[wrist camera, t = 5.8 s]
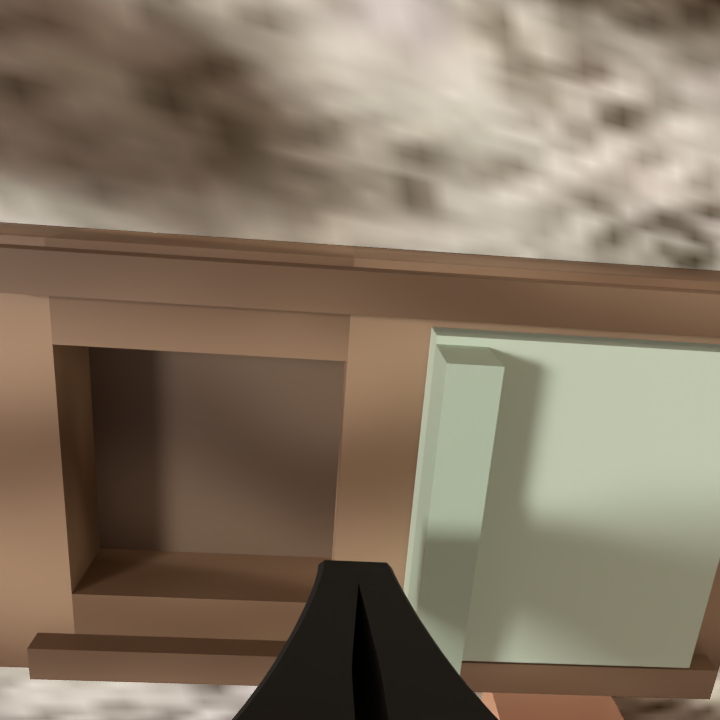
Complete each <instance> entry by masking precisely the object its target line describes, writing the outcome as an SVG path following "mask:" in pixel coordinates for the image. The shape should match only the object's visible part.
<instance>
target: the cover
mask: <svg viewBox="0 0 720 720" xmlns="http://www.w3.org/2000/svg"><path fill="white" fill-rule="evenodd" d="M719 559H720V344H705V343H689V342H673V341H656V340H640V339H623V338H607V337H591V336H574V335H558V334H542V333H525V332H509V331H492V330H476V329H460V328H443V327H432V328H431V337H430V346H429V356H428V365H427V374H426V384H425V393H424V402H423V412H422V421H421V430H420V440H419V449H418V458H417V467H416V477H415V486H414V495H413V505H412V514H411V523H410V533H409V542H408V551H407V561H406V570H405V579H404V589H403V591H404V593H405V595H406V597H407V598H408V600H409V602H410V604H411V605H412V607H413V609H414V610H415V612H416V614H417V615H418V617H419V618H420V620H421V621H422V623H423V625H424V626H425V628H426V629H427V631H428V632H429V634H430V635H431V637H432V638H433V640H434V641H435V643H436V644H437V645H438V647H439V648H440V650H441V651H442V653H443V654H444V655H445V657H446V658H447V659H448V661H449V662H450V663H451V665H452V666H453V667H454V668H455V670H456V671H457V672H458V674H459V675H460V670H461V664H462V661H489V662H520V663H551V664H581V665H612V666H643V667H674V668H689V667H690V664H691V660H692V656H693V653H694V649H695V646H696V642H697V638H698V635H699V631H700V628H701V624H702V620H703V617H704V613H705V610H706V606H707V603H708V599H709V595H710V592H711V588H712V585H713V581H714V577H715V574H716V570H717V567H718V563H719Z"/></svg>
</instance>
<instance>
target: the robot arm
mask: <svg viewBox="0 0 720 720" xmlns="http://www.w3.org/2000/svg"><path fill="white" fill-rule="evenodd" d="M232 720H498V718H497V717H496V716H495V715H494V714H493V713H492V712H491V711H490V710H489V709H488V708H487V707H486V706H485V704H484V703H483V702H482V701H481V700H480V699H479V698H478V697H477V695H476V694H475V693H474V692H473V691H472V690H471V688H470V687H469V686H468V685H467V684H466V682H465V681H464V680H463V679H462V677H461V676H460V675H459V674H458V672H457V671H456V670H455V668H454V667H453V666H452V665H451V663H450V662H449V661H448V659H447V658H446V657H445V655H444V654H443V653H442V651H441V650H440V648H439V647H438V645H437V644H436V643H435V641H434V640H433V638H432V637H431V635H430V634H429V632H428V631H427V629H426V628H425V626H424V625H423V623H422V621H421V620H420V618H419V617H418V615H417V614H416V612H415V610H414V609H413V607H412V605H411V604H410V602H409V600H408V598H407V597H406V595H405V593H404V591H403V589H402V588H401V586H400V584H399V582H398V580H397V578H396V576H395V574H394V572H393V569H392V568H391V567H390V565H389V564H388V563H386V562H362V561H338V560H324V561H323V562H321V563H320V564H319V565H318V571H317V575H316V579H315V582H314V585H313V588H312V591H311V593H310V595H309V598H308V600H307V603H306V605H305V607H304V609H303V611H302V613H301V615H300V617H299V619H298V621H297V623H296V625H295V627H294V629H293V631H292V633H291V635H290V636H289V638H288V640H287V642H286V643H285V645H284V647H283V648H282V650H281V652H280V653H279V655H278V657H277V658H276V660H275V662H274V663H273V665H272V666H271V668H270V669H269V671H268V672H267V674H266V675H265V677H264V678H263V680H262V681H261V683H260V684H259V686H258V687H257V688H256V690H255V691H254V692H253V694H252V695H251V696H250V698H249V699H248V701H247V702H246V703H245V704H244V706H243V707H242V708H241V709H240V711H239V712H238V713H237V714H236V716H235V717H234V718H233V719H232Z"/></svg>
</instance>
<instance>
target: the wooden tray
mask: <svg viewBox="0 0 720 720" xmlns="http://www.w3.org/2000/svg"><path fill="white" fill-rule="evenodd" d="M432 327H443V328H460V329H476V330H492V331H509V332H525V333H542V334H558V335H574V336H591V337H607V338H623V339H640V340H656V341H673V342H689V343H705V344H720V271H713V270H698V269H683V268H668V267H654V266H639V265H624V264H609V263H594V262H580V261H565V260H550V259H535V258H520V257H505V256H491V255H476V254H461V253H446V252H431V251H417V250H402V249H387V248H372V247H357V246H343V245H328V244H313V243H298V242H283V241H269V240H254V239H239V238H224V237H209V236H194V235H180V234H165V233H150V232H135V231H120V230H106V229H91V228H76V227H61V226H46V225H32V224H17V223H2V222H0V667H28V668H29V672H30V679H47V680H81V681H114V682H148V683H182V684H216V685H249V686H259V684H260V683H261V681H262V680H263V678H264V677H265V675H266V674H267V672H268V671H269V669H270V668H271V666H272V665H273V663H274V662H275V660H276V658H277V657H278V655H279V653H280V652H281V650H282V648H283V647H284V645H285V643H286V642H287V640H288V638H289V636H290V635H291V633H292V631H293V629H294V627H295V625H296V623H297V621H298V619H299V617H300V615H301V613H302V611H303V609H304V607H305V605H306V603H307V600H308V598H309V595H310V593H311V591H312V588H313V585H314V582H315V579H316V575H317V571H318V565H319V564H320V563H321V562H323V561H324V560H338V561H362V562H386V563H388V564H389V565H390V567H391V568H392V569H393V572H394V574H395V576H396V578H397V580H398V582H399V584H400V586H401V588H402V589H404V579H405V570H406V561H407V551H408V542H409V533H410V523H411V514H412V505H413V495H414V486H415V477H416V467H417V458H418V449H419V440H420V430H421V421H422V412H423V402H424V393H425V384H426V374H427V365H428V356H429V346H430V337H431V328H432ZM719 666H720V559H719V563H718V567H717V570H716V574H715V577H714V581H713V585H712V588H711V592H710V595H709V599H708V603H707V606H706V610H705V613H704V617H703V620H702V624H701V628H700V631H699V635H698V638H697V642H696V646H695V649H694V653H693V656H692V660H691V664H690V667H689V668H674V667H643V666H612V665H581V664H551V663H520V662H489V661H462V664H461V670H460V676H461V677H462V679H463V680H464V681H465V682H466V684H467V685H468V686H469V687H470V688H471V690H472V691H473V692H486V693H520V694H553V695H587V696H621V697H655V698H688V699H710V697H711V693H712V690H713V687H714V683H715V680H716V677H717V673H718V669H719Z"/></svg>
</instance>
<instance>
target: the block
mask: <svg viewBox="0 0 720 720" xmlns="http://www.w3.org/2000/svg"><path fill="white" fill-rule="evenodd" d="M482 702H483V703H484V704H485V706H486V707H487V708H488V709H489V710H490V711H491V712H492V713H493V714H494V715H495V716H496V717H497V718H498V720H624V719H623V717H622V715H621V713H620V711H619V709H618V707H617V706H616V704H615V702H614V700H613V698H612V696H587V695H553V694H520V693H486V692H483V696H482Z"/></svg>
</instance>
